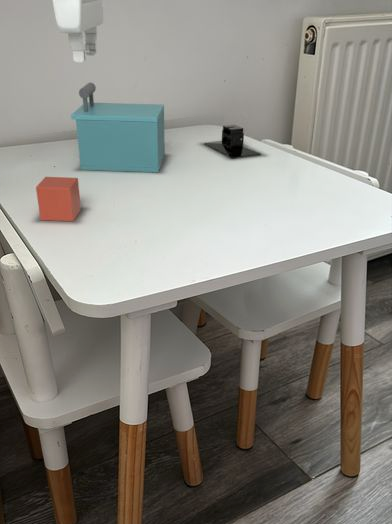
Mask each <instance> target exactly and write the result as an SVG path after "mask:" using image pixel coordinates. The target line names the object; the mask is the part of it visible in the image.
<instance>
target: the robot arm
mask: <svg viewBox="0 0 392 524" xmlns="http://www.w3.org/2000/svg"><path fill="white" fill-rule="evenodd" d="M51 1H52V6H53V11H54V12H53V13H54V18H55V23H56V25H57V29H58V31H59V32H60V33H61V34H67V36H68V42H69V45H70V48H71V51H72V61H73V62H74V63H83V62H85V61H86V56H95V55H96V54H97V51H98V50H97V41H98V40H97V39H98V26H101V25H103V23H104V9H103V8H104V7H103V0H51ZM83 39H85V40H83ZM83 41H85V44H84V42H83Z"/></svg>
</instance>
